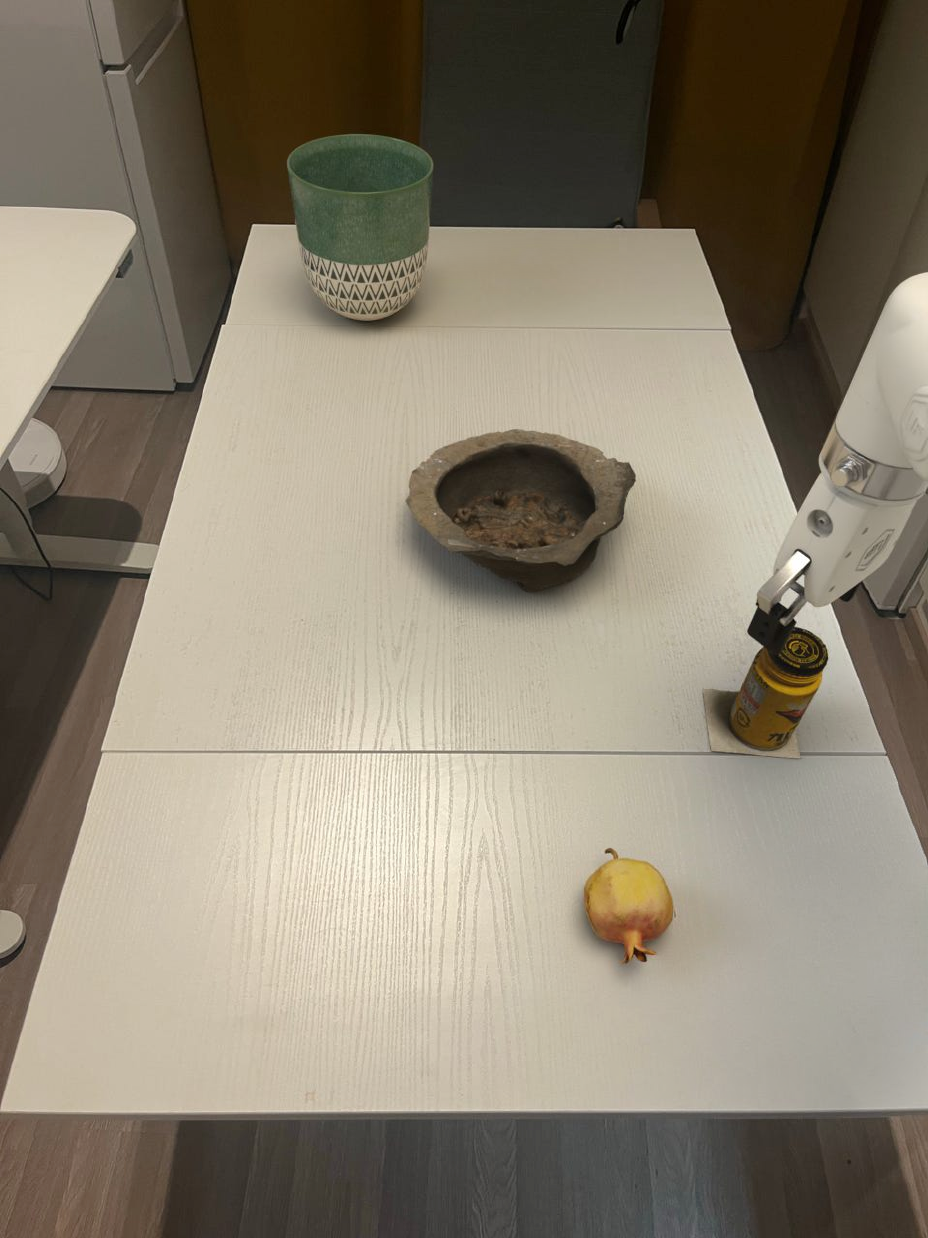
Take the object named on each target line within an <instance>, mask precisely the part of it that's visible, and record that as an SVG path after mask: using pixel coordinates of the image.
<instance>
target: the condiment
mask: <svg viewBox="0 0 928 1238" xmlns="http://www.w3.org/2000/svg"><path fill="white" fill-rule="evenodd" d="M828 661H829V652H828V648H827V645H826V644H825V643H824V641H823V640H822V639H821V638H820V637H818V635H817V634H815V633H813V632H812V631H811V630H808V629H805V628H802V627H798V626H795V627H794V629H793V631H792V633H791V635H790V637H789V639H788V641H787V643H786V645H785V647H784V649H783V651H782V652H781V653H779V654H778V655H774V654H772V653H771V652H770V651H769V650H767V649H766V648H765V647H764V646H762V647H761V648H760V649H759V650H758V651H757V652H756V654H755V655H754V658H753V659H752V662H751V664H750V667H749V669H748V671H747V674H746V675H745V678H744V680H743V682H742V684H741V686H740V689H739V690H738V691H730V690H721V689H720V690H719V689H714V688H702V692H703V693H702V694H703V701H704V711H705V717H706V718H705V719H706V726H707V731H708V738H709V739H708V740H709V744H710V751H711V752H720V753H734V754H745V755H754V756H764V757H777V758H788V759H801V758H802V756H801V752H800V746H799V743H798V739H797V734H796V729H797V727H798V726H799V725H800V722H801V720H802V719H803V716H804V714H805V713H806V711H807V709H808V708H809V706H810V704H811V702H812V700H813V699H814V697H815V695H816V694H817V692H818V690H819V688H820V686H821V684H822V681H823V672H824V669H825V668H826V666H827V665H828Z"/></svg>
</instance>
